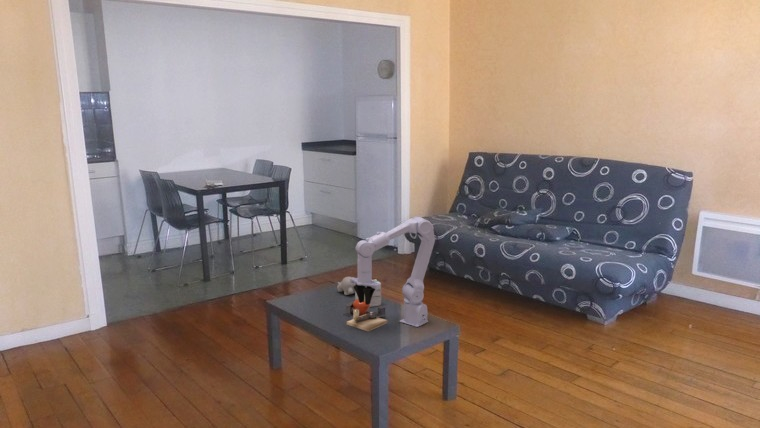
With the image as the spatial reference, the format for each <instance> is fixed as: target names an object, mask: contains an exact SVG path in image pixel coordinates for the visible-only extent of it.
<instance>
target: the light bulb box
mask: <svg viewBox="0 0 760 428" xmlns="http://www.w3.org/2000/svg"><path fill="white" fill-rule="evenodd" d="M372 281H374V282H376V283H378V284H380V289H378V290H376V289H375V291H374V293H373V295H372V298H371V302H370V307H369V308H371V307H373V308H374V307H382V283H381V282H380V281H379V280H377V279H372ZM355 285H356V284H355ZM365 288H367V286H366V287H365ZM354 293H355V296H354V297H355V299H354V301H355V300H356V299H357V298H358V296H357V293H356V291H355V292H354ZM364 298H365V294H364Z"/></svg>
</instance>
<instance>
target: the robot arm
mask: <svg viewBox="0 0 760 428" xmlns="http://www.w3.org/2000/svg"><path fill="white" fill-rule="evenodd" d="M434 230H435V229H434V225H433V224H432V222H431V221H429V220H428V219H425V218H423V217H421V216H419V215H418V216H417V215H415V216H413V217H412V218H408V219H407V220H406V221H404V222H402V223H401V224H399V225H397V226H395V227H393V228H392V229H390V230H389V231H387V232H384V231H376V232H375V233H376V234H374V235H372V236H370V237H366V238H365V240H364V239H363V240H359V241H358V242H357V243H356V246H355V247H354V248H355V251H356V253H357V260H356V261H357V267H356V268H357V277H353V276H351V277H352V278H350V283H355V284H356V285H355V286H354V289H355V291H356V293H357V296H358V299H359V303H362V302H364V294H365V303H366V305H368V304H370V302H371V298H372V295H373V293H374V291H375V289H376V290H378V289H380V284H378V283H376V282H374V281H372V280H373V277H372V276H373V275H372V274H373V267H372V265H373V263H372V261H373V260H372V258H373V257H372V256H373V254H374V253H375V252H376V251H378V250H380V249H382V248H384V247H386V246H388V245H389V243H390V241H391V240H394V239H395V238H399V237H401V236H402V235H405V234H407V233H410V234H416V235H417V236H418V238H419V239H420V245H419V248H418V250H417V254H416V257H415V260H414V261H415V262H414V264H413V268H412V270H411V271H412V272H411V275H410V277H408V278H407V280H406V282H405V284H403V286H402V288H401V293H402V295H403V296H404V299H403V318H401V319H400V320H399V323H402V324H406V325H409V326H413V327H415V328H417V327H420V326H422V325H425V324H427V323H429V320H428V306H427V304H426V303H424V302H423V300H424V297H425V296H424V295H425V294H424V290H425V285H424V279H425V276H426V272H427V269H428V265H429V262H430V259H431V256H432V253H433V249H434V246H435V242H436V236H435V231H434ZM366 286H367V288H365V287H366Z"/></svg>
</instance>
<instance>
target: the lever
mask: <svg viewBox="0 0 760 428" xmlns="http://www.w3.org/2000/svg"><path fill="white" fill-rule="evenodd" d="M366 314H367V315H365V316H362V315H359V309H354V310H353V314H352V316H353V317H352V319H354V320H355V321H356V322H360V321H363V320H366V319H374V318H376V317H379V316H380V317H381V316H384V315H386V307H385V306H382V305H381V306H377V311H371V310H370V311H367V313H366ZM359 316H361V317H359Z"/></svg>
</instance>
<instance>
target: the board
mask: <svg viewBox="0 0 760 428" xmlns="http://www.w3.org/2000/svg"><path fill="white" fill-rule="evenodd" d="M365 315H367V313H365V314H364V315H359V317H361V316H365ZM387 324H388V319H384V318H381V317H379V316H377V317H376V318H374V319H366V320H363V321H360V322H356V321H355V320H354V319H353V318H351V319H350V320H348V321H346V326H351V327H354V328H356V329H359V330H362V331H366V332H371V331H374V330H375V329H377V328H381V327H382V326H385V325H387Z"/></svg>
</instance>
